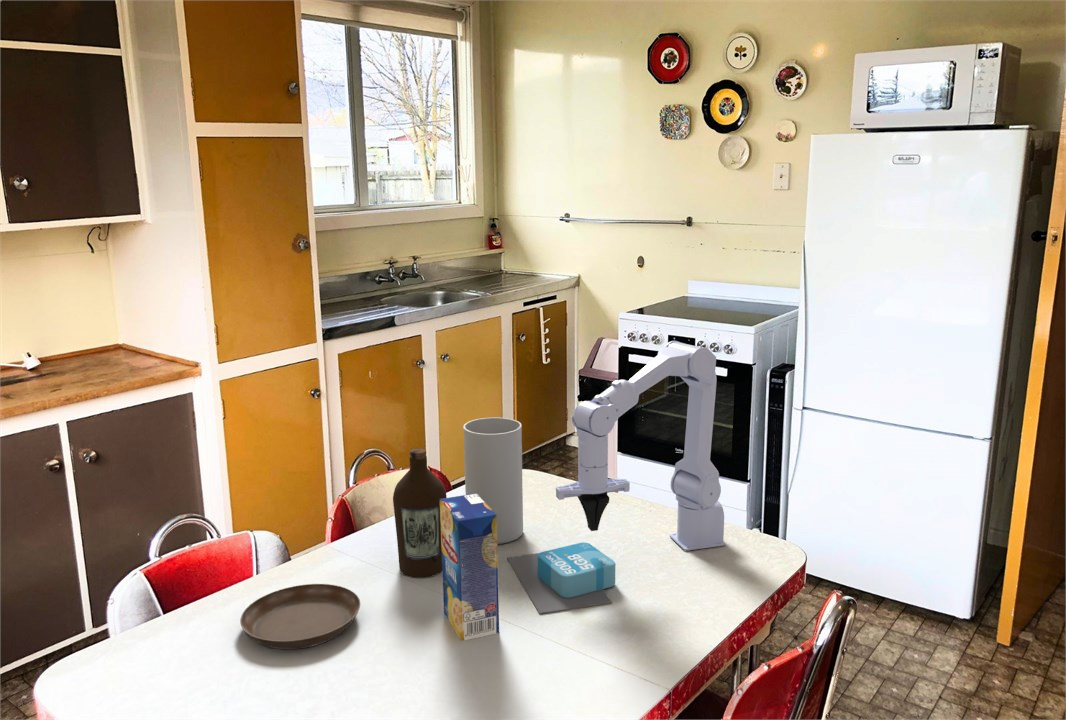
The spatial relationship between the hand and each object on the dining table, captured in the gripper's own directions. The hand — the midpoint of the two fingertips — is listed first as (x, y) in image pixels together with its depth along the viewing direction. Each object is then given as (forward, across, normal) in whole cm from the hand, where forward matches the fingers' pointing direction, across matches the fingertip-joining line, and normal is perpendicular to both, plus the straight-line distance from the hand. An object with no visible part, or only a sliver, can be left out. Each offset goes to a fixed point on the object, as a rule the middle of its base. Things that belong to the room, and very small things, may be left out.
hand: (592, 528), depth 169 cm
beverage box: (+10, +27, +11) cm, 31 cm away
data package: (+7, -2, 0) cm, 7 cm away
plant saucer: (+10, +56, +3) cm, 57 cm away
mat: (+10, +8, 0) cm, 12 cm away
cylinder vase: (+10, +14, -25) cm, 30 cm away
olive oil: (+10, +32, -13) cm, 36 cm away
